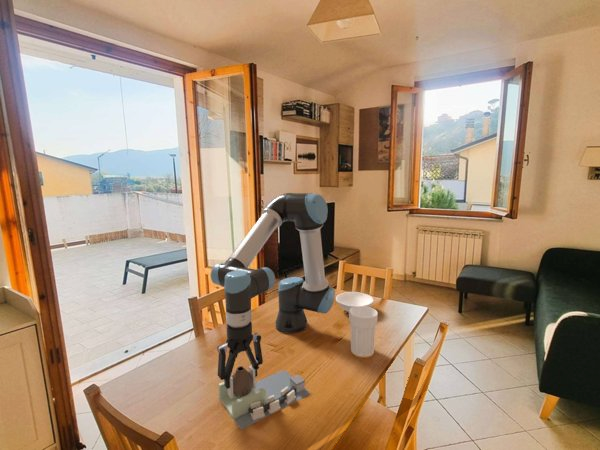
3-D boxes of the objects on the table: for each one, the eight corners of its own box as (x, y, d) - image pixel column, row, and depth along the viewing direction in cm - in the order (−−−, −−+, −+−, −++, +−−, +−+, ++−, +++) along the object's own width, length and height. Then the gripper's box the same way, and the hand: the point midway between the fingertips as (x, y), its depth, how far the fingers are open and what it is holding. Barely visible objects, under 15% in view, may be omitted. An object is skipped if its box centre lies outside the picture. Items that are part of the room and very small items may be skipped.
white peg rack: (244, 408, 98) (243, 399, 97) (297, 382, 109) (297, 374, 109) (254, 422, 92) (254, 412, 92) (309, 393, 104) (309, 384, 103)
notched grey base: (246, 409, 96) (246, 406, 96) (296, 385, 107) (296, 382, 107) (252, 418, 93) (252, 414, 93) (304, 392, 104) (304, 388, 104)
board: (218, 400, 102) (218, 398, 102) (284, 372, 117) (284, 369, 117) (241, 433, 90) (240, 429, 89) (311, 396, 104) (311, 393, 104)
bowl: (376, 319, 159) (377, 306, 158) (337, 319, 159) (337, 306, 158) (369, 303, 178) (369, 291, 177) (333, 303, 178) (334, 291, 177)
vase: (235, 404, 96) (232, 378, 94) (228, 391, 102) (226, 366, 100) (256, 396, 99) (255, 370, 98) (249, 383, 105) (247, 359, 104)
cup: (342, 348, 132) (343, 308, 130) (365, 342, 137) (366, 304, 134) (358, 363, 122) (359, 320, 119) (382, 356, 126) (383, 314, 124)
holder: (219, 397, 102) (218, 383, 102) (249, 384, 109) (248, 371, 108) (234, 419, 93) (233, 404, 92) (266, 403, 99) (266, 389, 99)
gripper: (212, 337, 88) (216, 411, 92) (273, 317, 99) (275, 385, 103) (202, 326, 94) (206, 397, 98) (261, 309, 105) (263, 373, 109)
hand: (241, 391), depth 100 cm, fingers closed on vase, 7 cm apart
